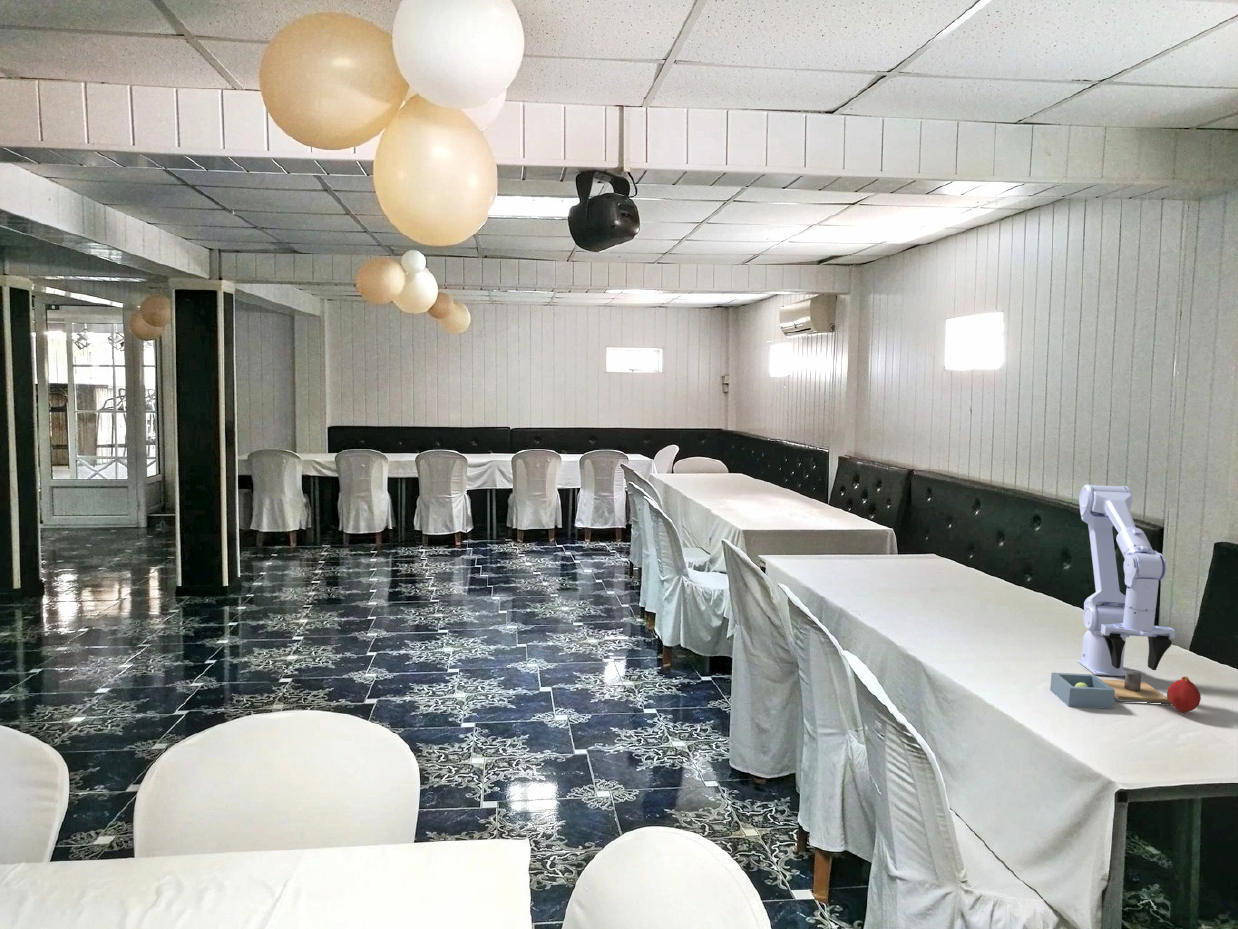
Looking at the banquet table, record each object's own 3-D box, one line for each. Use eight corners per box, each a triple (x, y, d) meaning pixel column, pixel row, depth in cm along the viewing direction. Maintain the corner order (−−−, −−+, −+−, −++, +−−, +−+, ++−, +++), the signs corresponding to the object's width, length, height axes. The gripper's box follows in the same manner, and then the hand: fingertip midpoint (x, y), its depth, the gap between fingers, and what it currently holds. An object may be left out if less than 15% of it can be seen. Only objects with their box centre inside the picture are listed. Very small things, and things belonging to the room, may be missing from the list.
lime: (1071, 692, 184) (1072, 680, 184) (1084, 693, 184) (1085, 680, 183) (1077, 697, 181) (1078, 685, 181) (1090, 698, 181) (1092, 685, 181)
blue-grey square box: (1050, 690, 187) (1051, 672, 187) (1092, 692, 187) (1094, 674, 186) (1068, 706, 178) (1070, 688, 178) (1113, 708, 178) (1114, 690, 177)
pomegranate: (1167, 705, 180) (1171, 668, 179) (1199, 712, 177) (1204, 675, 176) (1163, 713, 176) (1167, 676, 175) (1196, 721, 172) (1201, 683, 171)
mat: (1090, 681, 193) (1090, 679, 193) (1145, 684, 192) (1145, 682, 192) (1116, 702, 181) (1117, 700, 181) (1175, 705, 180) (1175, 703, 180)
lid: (1097, 681, 192) (1099, 663, 191) (1144, 684, 191) (1146, 666, 190) (1118, 698, 182) (1120, 680, 182) (1167, 702, 181) (1170, 683, 180)
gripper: (1114, 611, 181) (1108, 672, 183) (1185, 614, 180) (1178, 676, 182) (1098, 602, 188) (1092, 661, 190) (1167, 604, 187) (1160, 664, 189)
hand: (1133, 667), depth 186 cm, fingers open, 7 cm apart
